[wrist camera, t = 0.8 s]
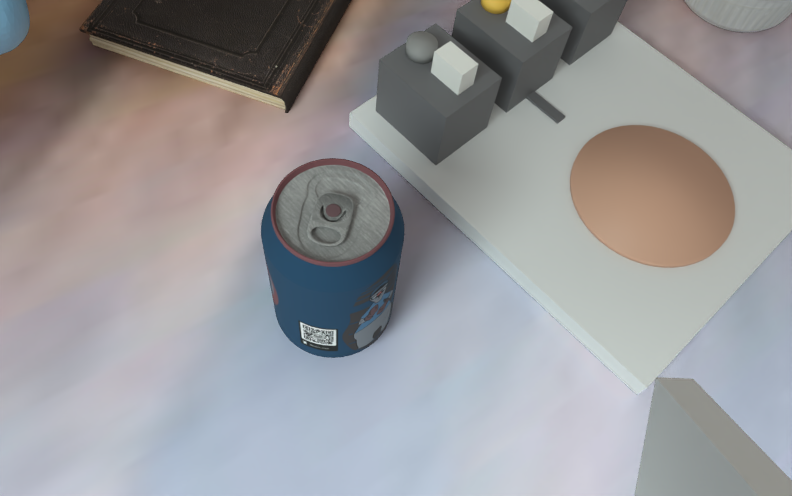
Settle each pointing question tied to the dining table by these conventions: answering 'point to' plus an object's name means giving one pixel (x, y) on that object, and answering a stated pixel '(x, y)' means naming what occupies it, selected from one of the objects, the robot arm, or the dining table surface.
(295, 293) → the soda can
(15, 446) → the dining table surface
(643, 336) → the breaker board
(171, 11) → the hardcover book
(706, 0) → the ramekin
